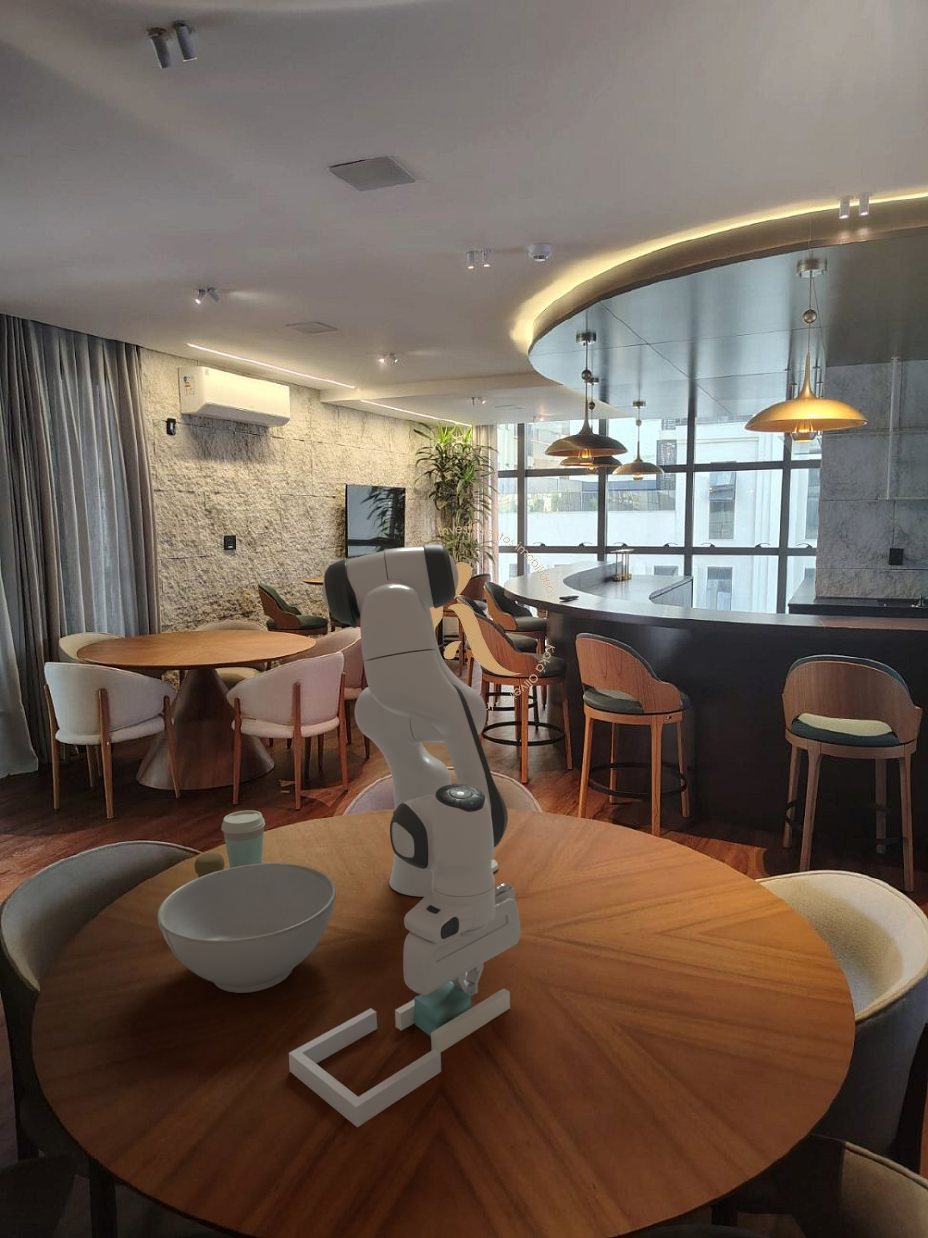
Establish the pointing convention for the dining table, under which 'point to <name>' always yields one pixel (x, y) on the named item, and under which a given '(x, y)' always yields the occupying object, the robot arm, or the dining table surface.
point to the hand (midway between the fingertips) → (466, 995)
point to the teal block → (440, 1007)
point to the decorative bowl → (248, 923)
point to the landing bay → (342, 1097)
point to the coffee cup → (244, 837)
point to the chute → (457, 1019)
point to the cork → (209, 864)
